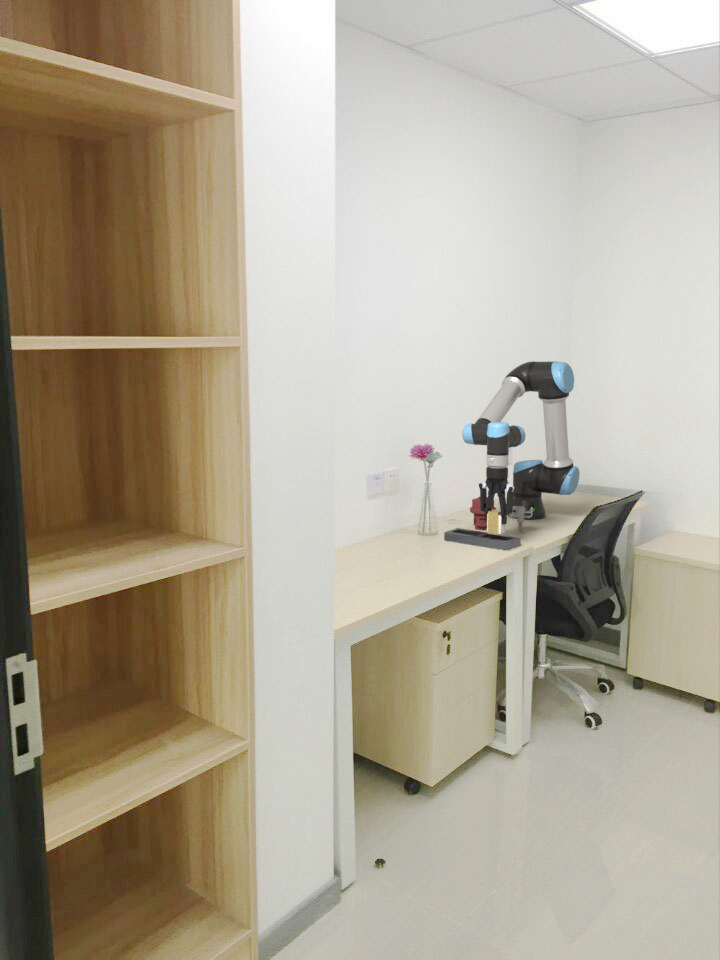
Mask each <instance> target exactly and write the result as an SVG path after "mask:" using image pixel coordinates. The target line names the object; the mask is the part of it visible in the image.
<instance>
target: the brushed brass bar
mask: <svg viewBox="0 0 720 960" xmlns="http://www.w3.org/2000/svg"><path fill="white" fill-rule="evenodd" d="M500 514H501V510H500V509H496V510H490V511H488V532H487V533H488V534H494V535H499V515H500Z"/></svg>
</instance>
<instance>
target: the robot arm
mask: <svg viewBox="0 0 720 960" xmlns="http://www.w3.org/2000/svg"><path fill="white" fill-rule="evenodd" d="M574 384H575V375H574V371H573V369H572V367H571V365H569V363H567V362H566V361H565V362H564V361H555V360H554V361H527V362H524V363H522V364H520V365H518V366H516V367H515V368H513V369H512V370H511V371H510V372H509V373H508V374H506V375H505V377H504V378H503V380H502V382H501V387H500V389H498V391H497V393H495V395H494V396H493V398H492V399H491V401H490V402H489V404H488V405H487V406H486V408H484V410H483V412H482V413H481V414H480V415H479V417H478V418H477V420H476V421H475V423H472V422H471V423H466V424H465V425H463V429H462V433H461V435H462V440H463V442H464V443H466V444H467V445H474V446H486V468H485V469H486V470H485V471H486V472H485V474H486V475H485V476H486V479H485V481H484V482H480V483H478V488H479V497H480V510H481V511H484V512H485V521H486V522H487V530H486V532H487V533H488V511H490V510H491V509H492V505H493V500H494V499H495V495H496V494H497V497H498V502H499V503H498V504H499V510H501V514H500V515H499V534H500V535H503V534H505V525H507V522H508V517H510V515H509V514H511V513H512V512H514V513H515V512H516V510H515V509H514V510H513V511H512V508H513V506H523V507H525V509H526V511H529V510H530V509H531V507H533V508H535V512H533V511H532V517H530V518H524V520H539V519H543V518H545V517H546V509H545V505H544V502H543V499H542V495H543V493H544V494H551V495H559V496H564V495H565V496H570V495H572V494H573V493H574V492H575V491H576V489H577V487H578V484H579V480H580V469H579V467H578V466H574V460H573V459H572V458H571V457H570V451H569V437H568V436H569V435H568V419H567V406H566V405H567V401H566V400H567V399H568V397H570V393H571V392H572V391H573V389H574V386H575V385H574ZM528 392H533V393H534V392H537V393H538V395H537V396H538V399H539V400H540V401H542V409H543V421H544V422H543V423H544V435H545V436H544V437H545V451H546V459H545V460H544V461H543V459H528V460H521V461H520V460H519V461H517V462H515V463H514V465H513V471H512V485H511V484H509V481H508V478H509V468H508V466H509V453H510V452H509V450H510V449H509V448H516V447H519V446H521V445H522V444H523V443H524V442H525V441H526V436H527V435H526V431H525V429H524V428H523V427H522V426H519V425H516V424H515V425H510V424H509V423H508V422H504V421H503V420H504V418H505V417H506V416H507V413H508V412H510V410H511V408H512V407H513V405H514V404H515V403H516V401H517V400H518V398H521V397H522V396H523V395H524V394H525V393H528ZM487 489H488V490H487ZM506 491H507V493H506ZM487 497H488V498H487ZM494 501H495V500H494ZM525 515H531V513H525ZM512 518H513V519H517V517H512Z"/></svg>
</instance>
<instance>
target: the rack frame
mask: <svg viewBox="0 0 720 960" xmlns="http://www.w3.org/2000/svg"><path fill="white" fill-rule="evenodd" d="M443 537H444V541H445V542H453V543H458V544H465V545H469V546H477V547H481V548H482V547H483V548H488V549H494V548H495V550H500V549H502V550H501V551H506V550H509V551H511V550H510V549H512V548H514V549H516V548H515V547H517V546H519V547H521V537H519V536H511V535H505V534H499V535H494V534H488V532H487V531H479V530H473V529H468V528H467V529H466V528H460V527H457V528H454V529H449V530H448V531H445V532H444V535H443ZM517 548H518V547H517ZM512 550H513V549H512Z"/></svg>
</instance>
